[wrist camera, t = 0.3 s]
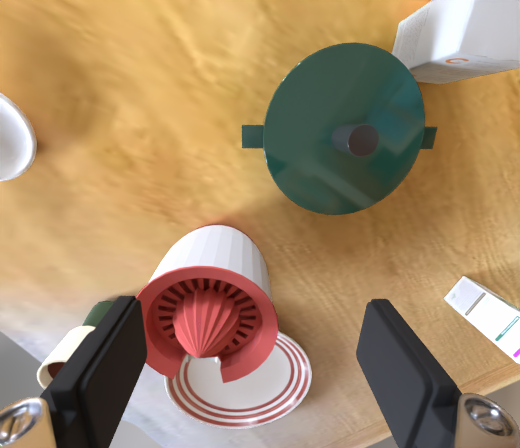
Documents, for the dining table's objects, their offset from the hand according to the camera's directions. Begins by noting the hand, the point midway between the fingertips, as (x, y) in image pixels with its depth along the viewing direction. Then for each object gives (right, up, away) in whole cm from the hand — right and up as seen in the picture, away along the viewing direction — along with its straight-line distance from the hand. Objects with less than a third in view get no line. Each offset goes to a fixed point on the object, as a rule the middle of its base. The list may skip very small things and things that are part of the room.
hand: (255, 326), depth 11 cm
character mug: (-26, -11, +36) cm, 46 cm away
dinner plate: (-4, -24, +42) cm, 49 cm away
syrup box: (+37, -8, +38) cm, 54 cm away
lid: (+9, +14, +18) cm, 24 cm away
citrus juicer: (-7, -2, +33) cm, 34 cm away
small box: (+21, +26, +24) cm, 41 cm away
